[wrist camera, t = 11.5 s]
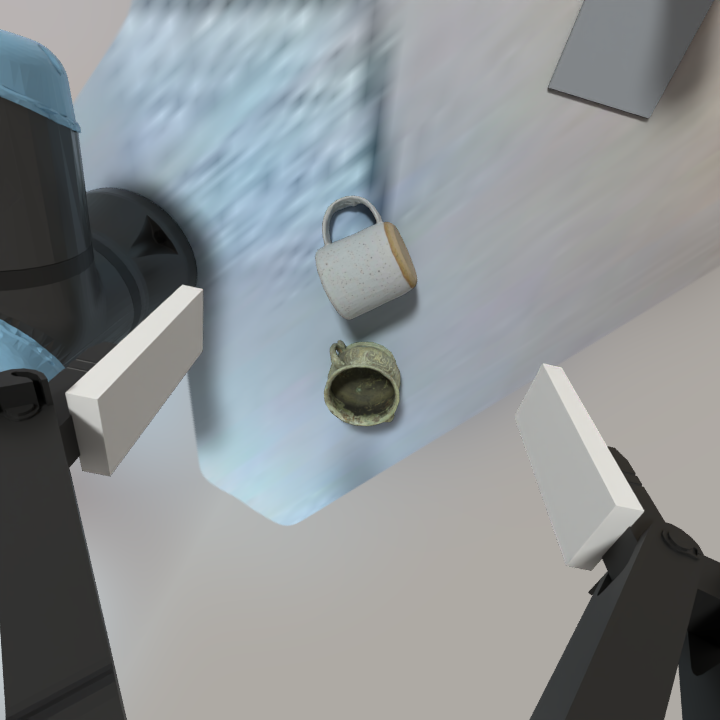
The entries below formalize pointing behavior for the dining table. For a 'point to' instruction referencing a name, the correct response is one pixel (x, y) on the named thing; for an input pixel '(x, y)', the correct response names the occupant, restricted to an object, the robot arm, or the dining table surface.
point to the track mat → (627, 51)
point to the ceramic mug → (363, 264)
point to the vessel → (362, 384)
